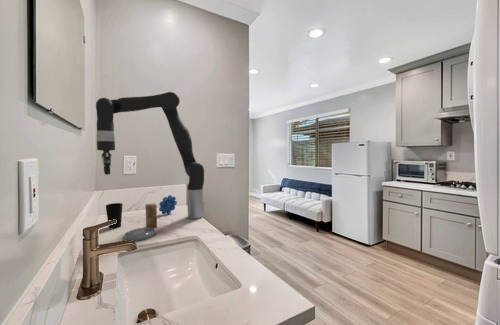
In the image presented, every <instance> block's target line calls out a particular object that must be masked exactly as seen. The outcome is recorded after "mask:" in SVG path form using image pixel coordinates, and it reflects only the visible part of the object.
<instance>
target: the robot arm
mask: <svg viewBox="0 0 500 325" xmlns="http://www.w3.org/2000/svg"><path fill="white" fill-rule="evenodd" d="M179 105H180V96H179V95H178V94H177V93H175V92H172V91H168V92H164V93H161V94H155V95H154V94H153V95H146V96H145V95H143V96H127V97H119V98H118V99H109V98H107V97H100V98H99V99H97V101H96V103H95V108H96V109H95V110H96V137H95V138H96V150H97V151H103V152H102V154H101V160H102V161H101V162H102V165H103V173H104V175H108V176H109V175H111V166H112V165H111V163H112V154H111V152H110V151H115V150H116V138H115V137H116V136H115V129H114V128H115V125H114V114H119V113H128V112H136V111H137V112H139V111H145V110H149V109H153V108H161V110H162V111H163V113H164V114H165V117H166V120H167V123H168V126H169V129H170V131H171V134H172V137H173V140H174V142H175V145H176V147H177V150H178V153H179V154H180V156H181V159H182V163H183V167H184V171H185V173H186V175H187V176H188V177H189V178H188V184H187V185H186V186H187V187H186V189H187V190H186V194H187V195H186V196H187V201H186V202H187V218H188V219H190V220H193V219H194V220H197V219H201V218H203V217H204V218H205V201H204V184H205V168H204V166H203V164H201V163H199V162H197V161H196V159H195V156H194V152H193V141H192V138H191V135H190V131H189V129H188V127H187V126H186V125H185V123H184V122H183V120H182V118H181V117H180V115H179V114H180V113H179V111H178V106H179Z"/></svg>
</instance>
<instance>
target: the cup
mask: <svg viewBox="0 0 500 325" xmlns="http://www.w3.org/2000/svg"><path fill="white" fill-rule="evenodd" d="M105 210H106V217H107V222H108V221H109V220H113V219H116V220H117V223H116V224H113V225H110V226H108V229H109V228H113V229H112V230H115V229H119V228H121V226H122V217H123V216H122V215H123V203H122V202H121V203H120V202H114V203H113V202H112V203H108V204H106V205H105Z"/></svg>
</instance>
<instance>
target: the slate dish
mask: <svg viewBox="0 0 500 325" xmlns="http://www.w3.org/2000/svg"><path fill="white" fill-rule="evenodd" d="M155 235H156V230H155V228H147V227H140V228H134V229H132V230H129V231H126V232H125V234H124V239H125V241H128V240H134V241H133V242H139V241H145V240H149V239H150V238H153V237H154V236H155Z"/></svg>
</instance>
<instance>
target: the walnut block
mask: <svg viewBox="0 0 500 325" xmlns="http://www.w3.org/2000/svg"><path fill="white" fill-rule="evenodd" d="M157 212H158V211H157V204H156V203H148V204H147V203H146V204H145V228H152V229H155V228H158V219H157V218H158V215H157V214H158V213H157Z"/></svg>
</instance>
